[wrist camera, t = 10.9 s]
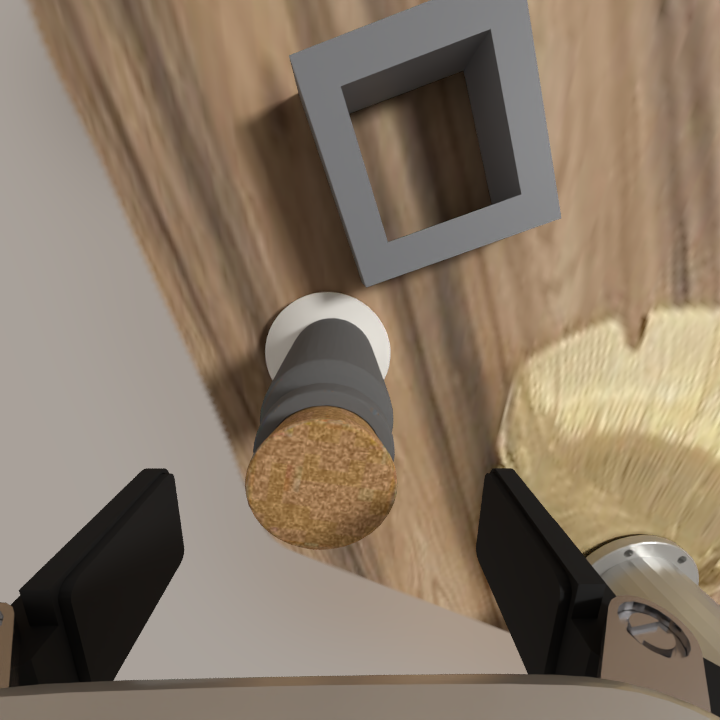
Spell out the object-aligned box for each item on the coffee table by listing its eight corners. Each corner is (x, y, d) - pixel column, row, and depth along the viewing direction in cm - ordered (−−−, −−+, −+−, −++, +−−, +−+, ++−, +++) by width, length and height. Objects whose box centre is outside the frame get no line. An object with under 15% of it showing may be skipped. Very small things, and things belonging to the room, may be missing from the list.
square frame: (525, 224, 24) (561, 218, 20) (362, 282, 24) (366, 287, 21) (487, 19, 21) (521, -35, 17) (298, 92, 21) (289, 55, 17)
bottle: (347, 407, 26) (357, 588, 12) (277, 372, 25) (194, 524, 11) (387, 342, 25) (452, 455, 11) (315, 301, 24) (278, 366, 9)
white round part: (403, 386, 27) (405, 390, 26) (295, 423, 27) (293, 428, 26) (366, 273, 24) (367, 274, 24) (247, 316, 25) (244, 318, 24)
